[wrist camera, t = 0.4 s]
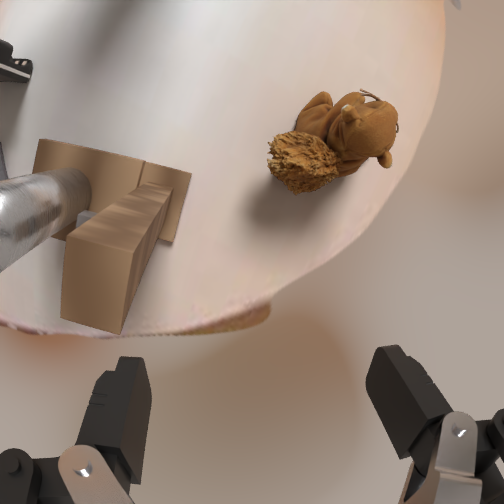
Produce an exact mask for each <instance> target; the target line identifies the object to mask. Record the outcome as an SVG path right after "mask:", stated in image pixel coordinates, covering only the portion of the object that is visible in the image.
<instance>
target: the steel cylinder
mask: <svg viewBox="0 0 504 504" xmlns="http://www.w3.org/2000/svg"><path fill="white" fill-rule="evenodd" d="M91 199H92V189H91V185H90V182H89V180H88V178H87V177H86V175H85V174H84V173H83V172H81V171H80V170H78V169H76V168H71V167H67V168H61V169H55V170H50V171H45V172H40V173H34V174H30V175H25V176H20V177H15V178H11V179H7V180H2V181H0V272H2V271H3V270H4V269H6V268H7V267H8V266H10V265H11V264H12V263H14V262H15V261H16V260H18V259H19V258H21V257H22V256H23V255H25V254H26V253H27V252H29V251H30V250H32V249H33V248H35V247H36V246H37V245H39V244H40V243H42V242H43V241H45V240H46V239H48V238H49V237H51V236H52V235H54V234H55V233H57V232H58V231H60V230H61V229H63V228H64V227H66V226H67V225H69V224H70V223H72V222H73V221H75V220H77V217H78V214H79V213H81V212H83V211H85V210H88V208H89V206H90V203H91Z"/></svg>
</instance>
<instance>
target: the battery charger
mask: <svg viewBox="0 0 504 504" xmlns="http://www.w3.org/2000/svg"><path fill="white" fill-rule="evenodd" d="M12 52H13V46H12V45H11V44H10V43H8V42H6V41H3V40H1V39H0V81H5V82H18V83H27V82H28V80H29V78H30V76H31V75H30V74H31V71H32V61H31V60H29V59H13V58H12V56H11V55H12Z"/></svg>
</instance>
